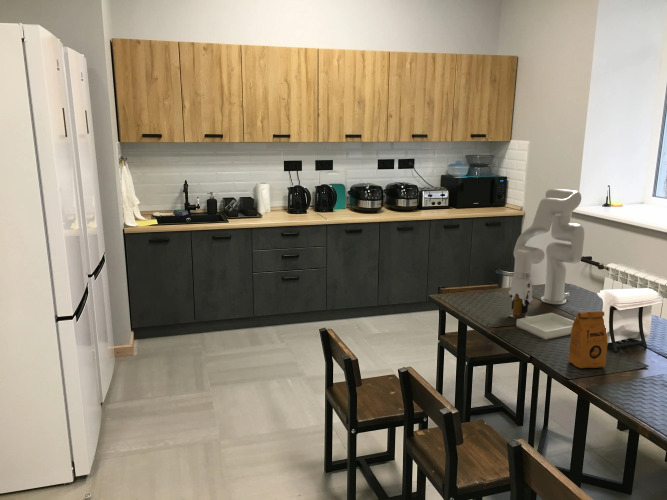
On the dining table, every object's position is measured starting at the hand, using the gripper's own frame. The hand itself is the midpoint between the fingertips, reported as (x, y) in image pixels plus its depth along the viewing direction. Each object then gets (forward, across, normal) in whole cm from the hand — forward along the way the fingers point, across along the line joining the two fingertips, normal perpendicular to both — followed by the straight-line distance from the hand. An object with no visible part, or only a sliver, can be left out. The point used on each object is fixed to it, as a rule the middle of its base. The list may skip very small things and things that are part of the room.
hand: (519, 310), depth 277 cm
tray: (+3, -19, 0) cm, 19 cm away
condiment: (+3, -1, 0) cm, 3 cm away
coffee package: (+3, -55, +17) cm, 58 cm away
